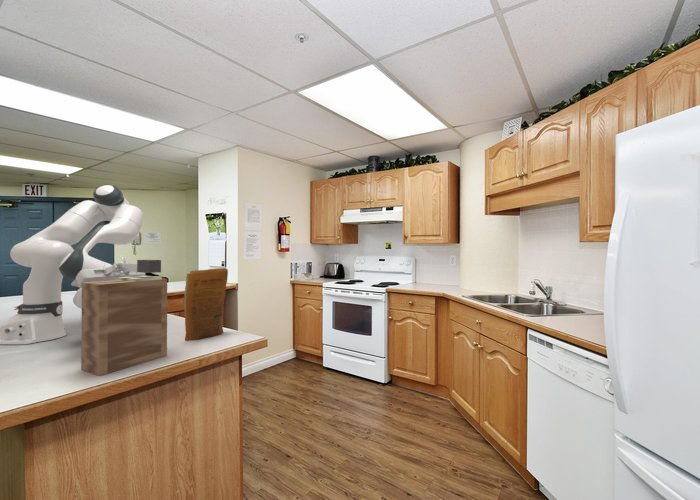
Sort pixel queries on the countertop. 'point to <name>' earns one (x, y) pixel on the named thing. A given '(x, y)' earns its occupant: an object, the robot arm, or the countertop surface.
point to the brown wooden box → (123, 323)
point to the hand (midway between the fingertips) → (123, 265)
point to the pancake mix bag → (204, 303)
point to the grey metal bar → (141, 266)
